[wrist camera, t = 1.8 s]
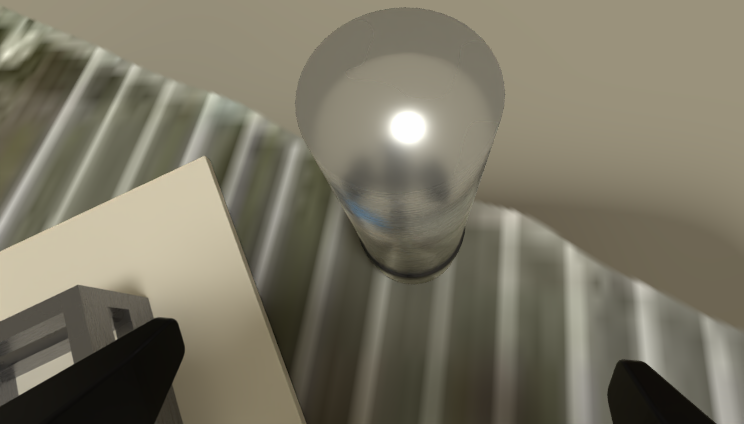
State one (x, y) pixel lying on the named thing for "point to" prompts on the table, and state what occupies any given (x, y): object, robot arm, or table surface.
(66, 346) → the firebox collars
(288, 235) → the table surface
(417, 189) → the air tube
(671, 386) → the robot arm
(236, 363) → the tile
